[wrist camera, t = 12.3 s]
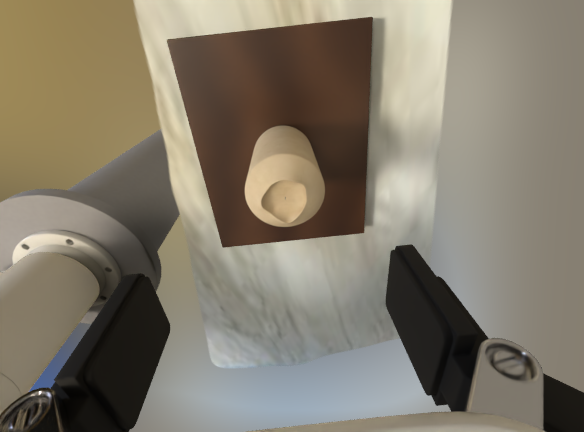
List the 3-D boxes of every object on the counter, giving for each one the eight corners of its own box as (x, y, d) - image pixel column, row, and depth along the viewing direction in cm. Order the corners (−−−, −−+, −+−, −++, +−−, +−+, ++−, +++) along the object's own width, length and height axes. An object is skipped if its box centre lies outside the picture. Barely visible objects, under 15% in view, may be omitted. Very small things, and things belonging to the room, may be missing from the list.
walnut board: (225, 238, 33) (222, 247, 32) (173, 40, 23) (166, 39, 22) (360, 224, 33) (364, 233, 32) (366, 19, 23) (372, 16, 22)
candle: (312, 179, 28) (327, 236, 20) (256, 182, 28) (247, 240, 19) (312, 123, 25) (329, 159, 17) (250, 126, 25) (236, 164, 17)
